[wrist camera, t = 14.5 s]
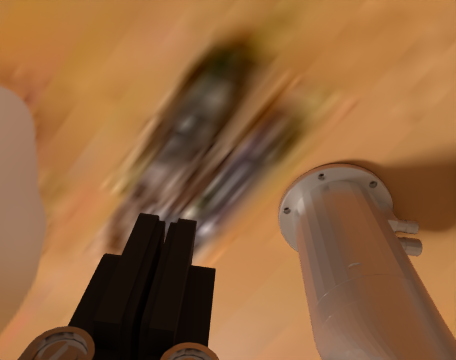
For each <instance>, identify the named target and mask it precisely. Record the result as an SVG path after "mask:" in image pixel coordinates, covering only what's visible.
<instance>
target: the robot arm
mask: <svg viewBox="0 0 456 360" xmlns="http://www.w3.org/2000/svg"><path fill="white" fill-rule="evenodd" d="M322 173H323V174H322ZM320 174H322V175H320ZM371 181H372V182H371ZM287 207H288V208H287ZM278 218H279V226H280V229H281V233H282V235H283V237H284V238H285V240H286V241H287V243H288V244H289V245H290V246H291V247H292V248H293V249H294V250H296V251H297V252H298V253H299V259H300V264H301V270H302V275H303V281H304V286H305V292H306V297H307V303H308V308H309V314H310V319H311V325H312V331H313V336H314V341H315V344H316V348H317V350H318V353H319V355H320V357H321V359H322V360H456V339H455V338H454V336H453V334H452V333H451V331H450V329H449V328H448V326H447V325H446V323H445V321H444V320H443V318H442V316H441V314H440V313H439V311H438V309H437V307H436V306H435V304H434V302H433V300H432V298H431V297H430V295H429V293H428V291H427V290H426V288H425V286H424V284H423V282H422V281H421V279H420V277H419V275H418V274H417V272H416V270H415V268H414V266H413V265H412V263H411V261H410V259H409V257H408V256H407V255H411V256H419V255H420V254H421V252H422V242H421V240H419V239H415V238H408V237H397V236H396V234H395V232H396V231H401V232H404V233H411V234H416V233H417V232H418V230H419V224H418V222H417V221H410V220H399V219H397V217H395V216H394V214H393V202H392V198H391V195H390V193H389V191H388V189H387V187H386V186H385V185H384V183H383V182H382V180H381V179H379V178H378V177H377V176H376V175H375V174H374V173H372V172H370V171H369V170H367V169H365V168H362V167H359V166H356V165H350V164H330V165H325V166H321V167H318V168H315V169H312V170H310V171H308V172H307V173H305V174H303V175H301V176H300V177H299V178H298V179H297V180H295V181H294V182H293V183H292V184H291V185H290V187H289V188H288V189H287V190H286V192H285V194H284V195H283V197H282V199H281V203H280V206H279V214H278ZM196 224H197V221H194V220H187V219H180V218H179V219H178V222H177V223H173V222H171V223H170V226H169V229H168V233H167V236H166V239H165V243H164V236H165V221H159V216H158V215H151V214H144V213H140V214H139V216H138V219H137V221H136V223H135V225H134V228H133V230H132V232H131V235H130V237H129V239H128V241H127V244H126V246H125V248H124V251H123V253H122V255H114V254H107V253H106V254H104V255H103V257H102V258H101V260H100V262H99V264H98V266H97V268H96V270H95V272H94V274H93V276H92V278H91V280H90V282H89V284H88V286H87V288H86V290H85V292H84V294H83V296H82V298H81V300H80V302H79V304H78V306H77V308H76V310H75V312H74V314H73V316H72V318H71V320H70V322H69V324H68V326H65V327H57V328H54V329H51V330H48V331H46V332H44V333H43V334H41V335H39V336H38V337H36V338H35V339H34V340H33V341H32V342H31V343H30V344H29V345H28V347H27V348H26V349H25V351H24V352H23V353H22V354H21V356H20V357H19V358H18V360H219V358H218V357H217V355H216V354H215V353H214V352H213V351H212V350H210V349H209V348H208V340H209V330H210V320H211V310H212V301H213V291H214V281H215V271H216V269H215V268H207V267H200V266H193V265H191V264H192V256H193V248H194V240H195V232H196Z"/></svg>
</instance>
